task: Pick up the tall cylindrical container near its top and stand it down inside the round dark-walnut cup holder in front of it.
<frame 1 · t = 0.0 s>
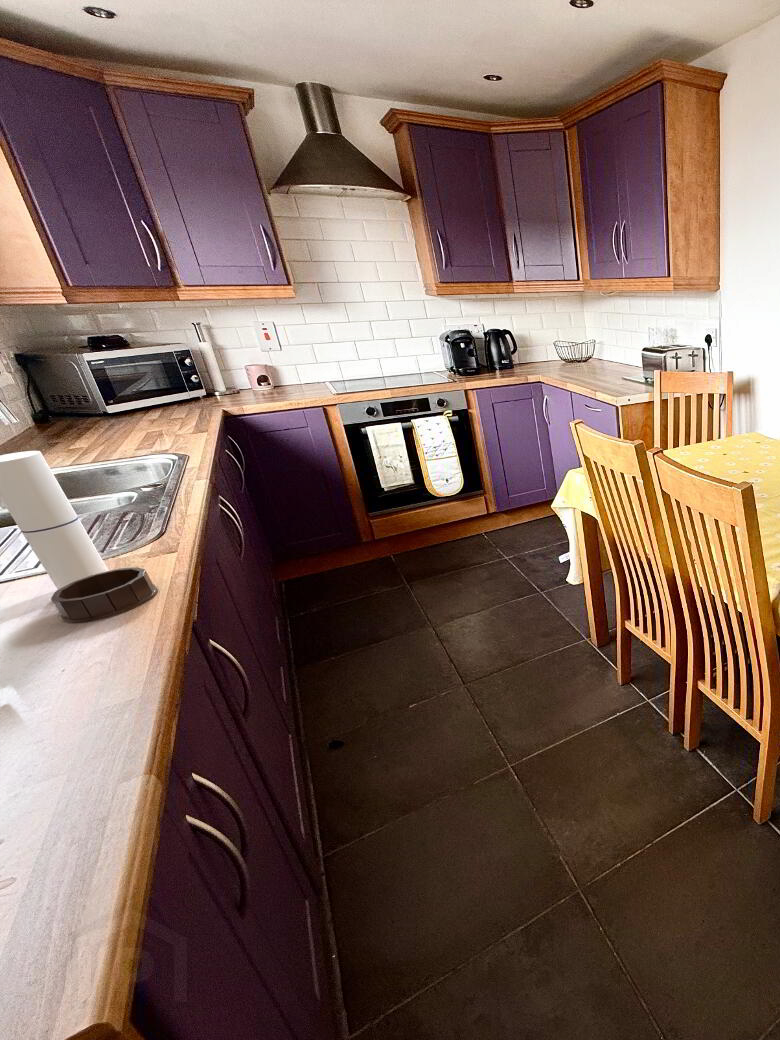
holder: (111, 603, 102), on the counter
cylindrical container: (87, 586, 109), on the counter
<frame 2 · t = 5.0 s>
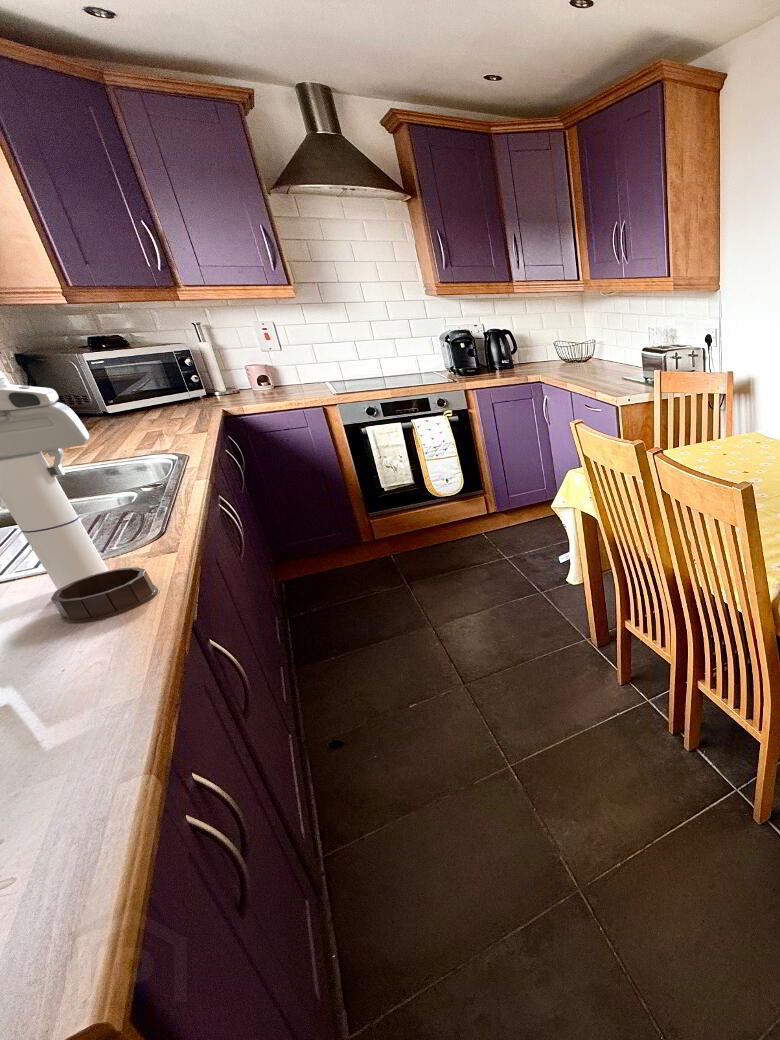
hand: (25, 481, 100), 21 cm above the counter, tool pointing down, fingers closed on cylindrical container, 7 cm apart
cylindrical container: (87, 586, 109), on the counter, touching gripper
when the fingers open (21 cm above the counter, at t = 12.9 s): cylindrical container stays where it is, resting on holder.
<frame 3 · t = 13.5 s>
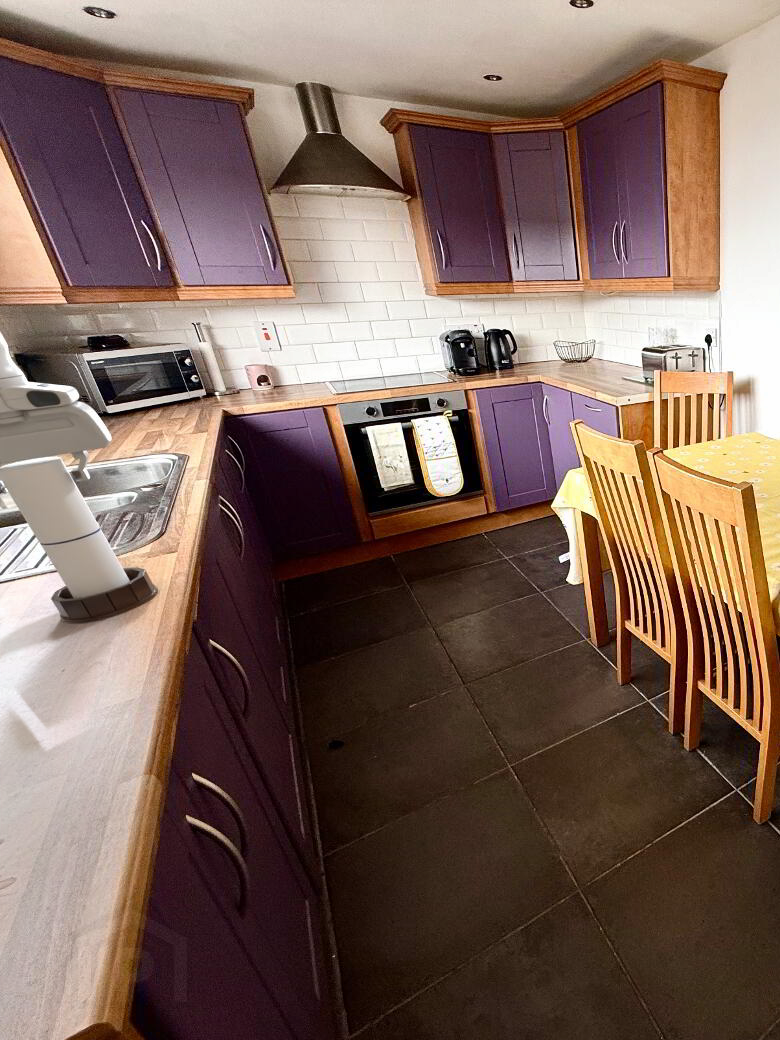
hand: (43, 486, 92), 22 cm above the counter, tool pointing down, fingers open, 8 cm apart
cylindrical container: (109, 601, 102), resting on holder
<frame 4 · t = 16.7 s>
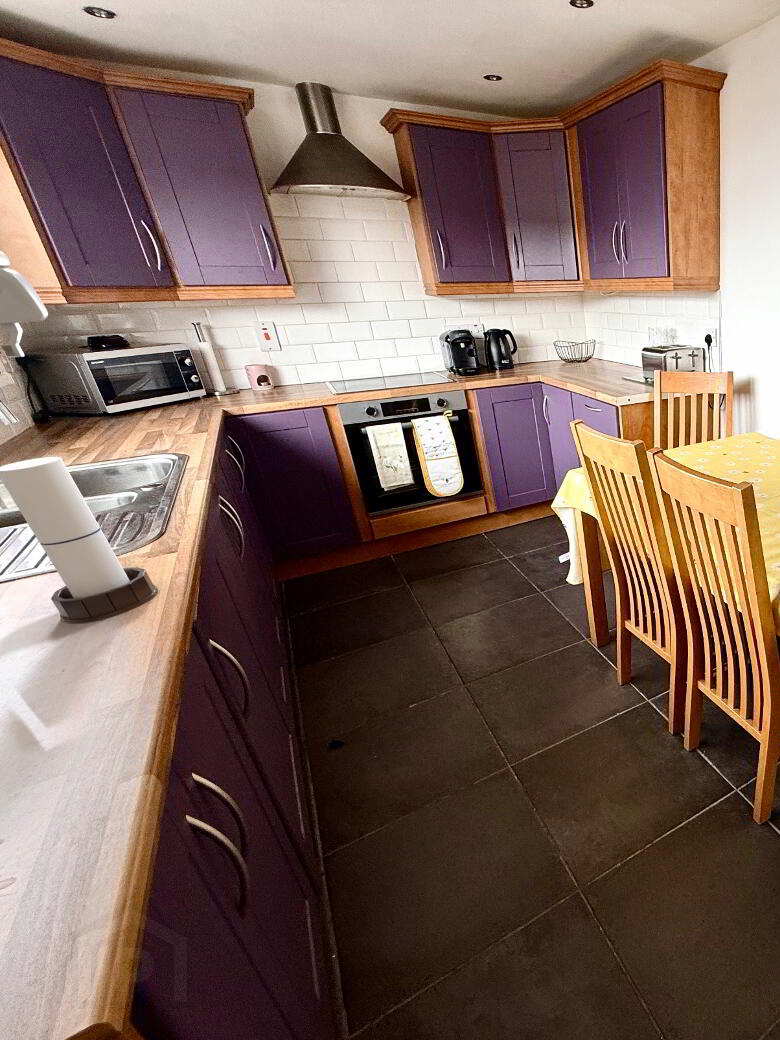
nothing on the counter moved.
at the end: cylindrical container 0.3 cm from the holder (horizontally); cylindrical container tilted 0°; the gripper is holding nothing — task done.
